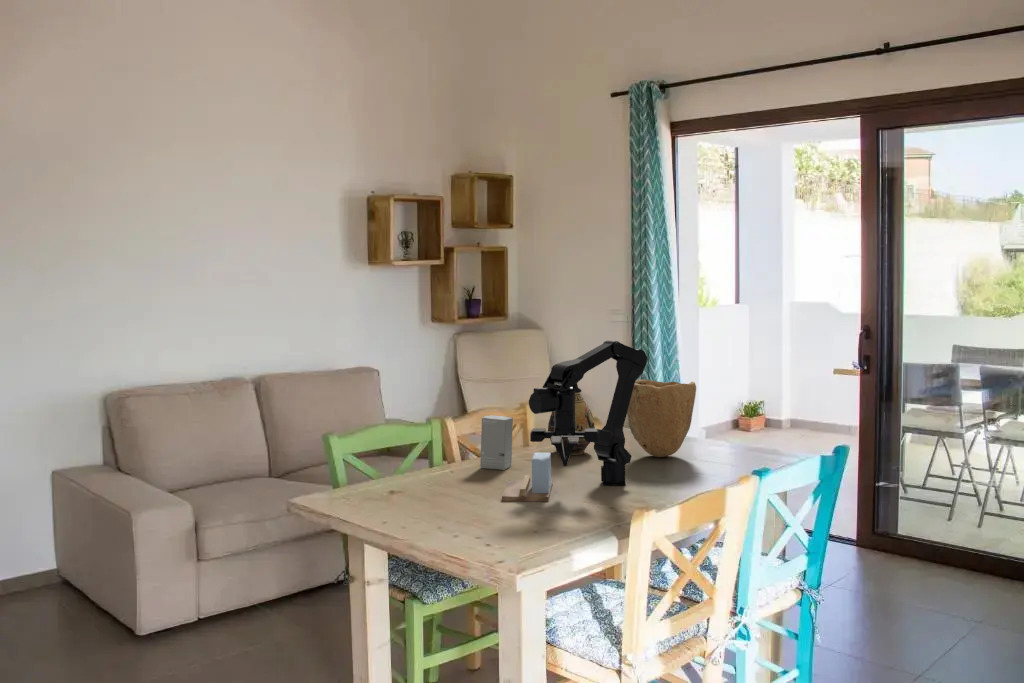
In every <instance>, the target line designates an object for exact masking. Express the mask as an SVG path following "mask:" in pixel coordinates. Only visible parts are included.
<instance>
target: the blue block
mask: <svg viewBox="0 0 1024 683" xmlns="http://www.w3.org/2000/svg"><path fill="white" fill-rule="evenodd" d="M551 453H552V452H534V453H533V456H532V459H531V481H532V493H549V490H550V486H551V481H552V461H551V460H552V458H551V456H552V454H551Z"/></svg>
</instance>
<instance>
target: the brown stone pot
mask: <svg viewBox="0 0 1024 683" xmlns="http://www.w3.org/2000/svg"><path fill="white" fill-rule="evenodd" d="M696 394H697V385H696V382H695V381H690V382H689V383H682V382H681V383H680V382H678V381H668V382H663V381H657V380H652V379H637V380H636V381H635V384H634V388H633V392H632V396H631V399H630V403H629V407H628V411H627V415H626V416H627V420H628V427H629V429H630V432H631V434H632V436H633V438H634V440H635V441H636V442H637V443H638V445H639V446H640V447H641V448H642V449H643V451H644V452H646V453H648V455H651V456H652V457H655V458H664V457H668V456H672V455H674V454H675V453H677V452H678V451H679V450H680V449H681V446H682V444H683V443H684V440H685V439H686V437H687V434H688V433H689V432H690V428H691V424H692V420H693V418H692V417H693V413H694V412H693V411H694V407H695V406H694V405H695V402H696Z"/></svg>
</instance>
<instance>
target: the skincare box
mask: <svg viewBox="0 0 1024 683" xmlns="http://www.w3.org/2000/svg"><path fill="white" fill-rule="evenodd" d="M513 425H514V417H510V416H502V415H492V414H491V415H486V416H482V417H481V431H480V432H481V434H480V438H481V439H480V461H479V462H480V469H485V470H486V469H489V470H500V471H501V470H502V471H503V470H504V471H505V470H508V469H509V468H511V467H512V465H513V464H512V462H513V460H512V459H513V457H512V456H513V427H514V426H513Z"/></svg>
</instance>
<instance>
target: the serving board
mask: <svg viewBox="0 0 1024 683" xmlns="http://www.w3.org/2000/svg"><path fill="white" fill-rule="evenodd" d="M553 484H554V483H553V480H551V486H550V490H549V493H532V480H531V475H529V474H527V475H526V474H524V478H523V479H522V480H508V482H507V484H506V486H505V488H504V491H503V494H502V495H501V502H550V496H551V493H552V490H553Z"/></svg>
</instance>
